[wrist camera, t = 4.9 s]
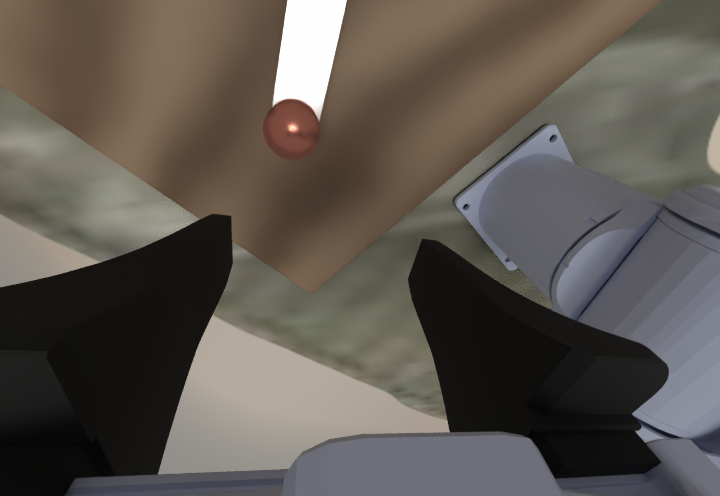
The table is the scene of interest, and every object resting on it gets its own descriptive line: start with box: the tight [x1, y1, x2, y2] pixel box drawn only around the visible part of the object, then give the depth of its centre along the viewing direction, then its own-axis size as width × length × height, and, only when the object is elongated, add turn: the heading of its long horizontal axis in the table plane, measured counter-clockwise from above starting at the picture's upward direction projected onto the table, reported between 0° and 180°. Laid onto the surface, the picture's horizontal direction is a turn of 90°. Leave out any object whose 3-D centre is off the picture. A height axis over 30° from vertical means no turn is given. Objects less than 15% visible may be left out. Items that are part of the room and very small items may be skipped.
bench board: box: [0, 0, 662, 294], centre depth 14 cm, size 24×28×4 cm
